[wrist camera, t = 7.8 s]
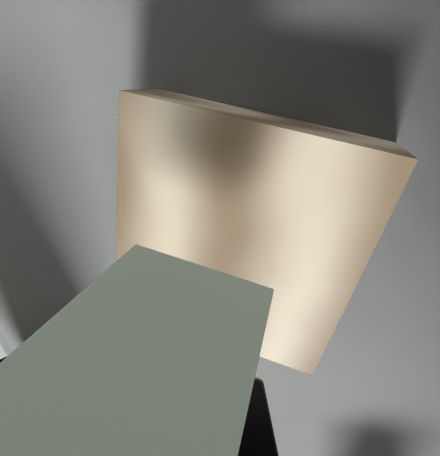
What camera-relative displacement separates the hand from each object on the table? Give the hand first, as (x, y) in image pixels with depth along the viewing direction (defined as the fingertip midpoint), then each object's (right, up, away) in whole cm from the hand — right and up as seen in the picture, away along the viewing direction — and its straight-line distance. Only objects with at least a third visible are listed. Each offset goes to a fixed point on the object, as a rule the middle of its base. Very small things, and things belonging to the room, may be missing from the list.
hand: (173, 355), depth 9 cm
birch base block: (+3, +4, +9) cm, 11 cm away
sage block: (0, +1, +1) cm, 2 cm away
